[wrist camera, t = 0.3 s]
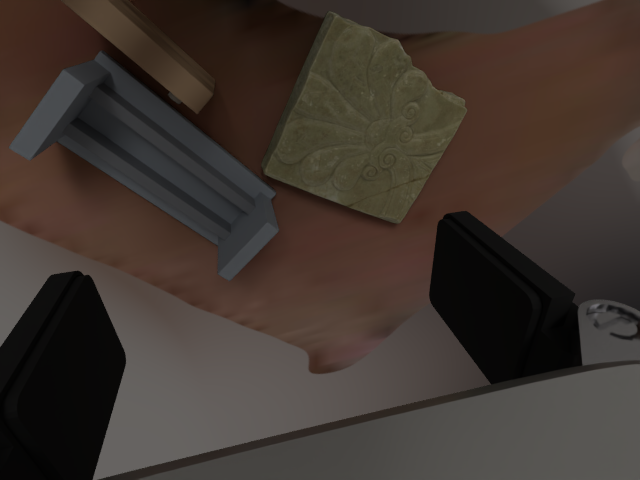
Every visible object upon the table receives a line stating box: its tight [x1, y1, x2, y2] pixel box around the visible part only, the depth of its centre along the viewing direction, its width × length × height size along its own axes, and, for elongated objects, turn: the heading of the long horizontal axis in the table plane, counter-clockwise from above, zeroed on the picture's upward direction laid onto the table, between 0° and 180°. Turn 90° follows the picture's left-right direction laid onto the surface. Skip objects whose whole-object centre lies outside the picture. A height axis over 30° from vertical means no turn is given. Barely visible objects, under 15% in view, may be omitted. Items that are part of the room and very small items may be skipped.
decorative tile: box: [261, 11, 467, 224], centre depth 44 cm, size 19×20×4 cm
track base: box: [9, 51, 279, 281], centre depth 38 cm, size 22×10×9 cm, turn 44°
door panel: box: [61, 0, 215, 114], centre depth 32 cm, size 12×3×9 cm, turn 44°
